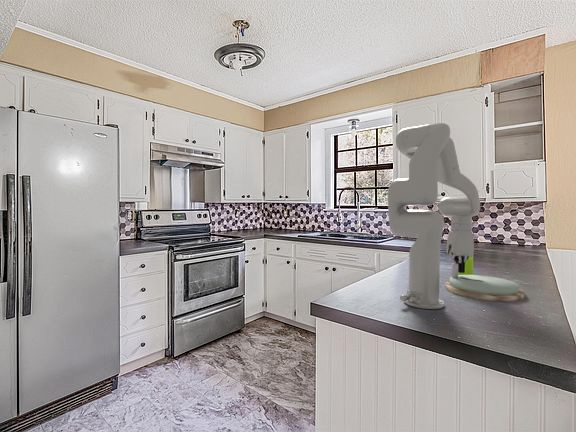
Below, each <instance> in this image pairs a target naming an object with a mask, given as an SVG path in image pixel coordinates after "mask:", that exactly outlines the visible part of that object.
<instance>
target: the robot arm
mask: <svg viewBox="0 0 576 432" xmlns="http://www.w3.org/2000/svg"><path fill="white" fill-rule="evenodd" d="M395 145H396V148H397V149H398V151H399V152H400V153H401V154H402V155H404V156H405V157H407V158H408V159H410V160H409V162H408V163H409V164H408V177H407V178H397V179H394V180H393V181H392V182H391V183H389V186H388V190H387V208H388V211H387V213H388V225H389V229H390V232H391V234H392V235H394V236H395V237H396V236H397V237H401V238H402V237H403V238H414V239H415V242H414V243H413V244H412V245H411V246H410V249H409V252H408V254H409V255H408V259H409V260H408V264H409V265H408V289H407V293H406V294H401V295H400V296H399V300H400V301H401V302H403V303H405V304H406V305H408V306H409V307H414V308H418V309H424V310H425V309H426V310H437V309H443V307H445V301H444V300H443V299H440V275H441V244H442V243H441V242H442V236H443V232H444V227H445V218H444V217H443V216H446V217H450V219H451V220H450V230H449V231H448V235H447V238H446V246H445V249H446V250H445V253H446V254H447V255H448V258H449V259H452V260H453V262H455V263H457V264H458V272H459V273H465V263H466V262H467V260H468V258H471V257H472V254H473V255H474V252H475V239H474V231H473V230H472V229H473V228H474V225H473V217H476V216H477V215H478V214H479V213H480V212H481V211H480V210H481V200H480V195H479V190H478V188H477V187H476V185H475V184H474V183H473V182H472V181H471V180H470V178H469V177H467V176H466V175H464V174H463V173H462V172H461V171H460V166H459V161H458V156H457V153H456V152H457V151H456V147H455V143H454V140H453V138H451V128H450V125H449V124H447V123H444V122H443V123H442V122H437V123H429V124H428V123H427V124H424V125H418V126H411V127H406V128H402V129H401V130H399V131H398V133H397V134H396V136H395ZM438 183H439V184H441V185H445V186H448V187H450V188H453V189H456V190H458V191H460V192H462V193H463V194H464V195H465V196H451V197H449V196H448V197H443V198H442V199H440V200H439V202H438V205H437V208H438V211H436V210H430V209H407V208H406V207H428V206H432V205H434V204H436V203H437V200H438V197H439V192H438V191H439V189H438V187H439V184H438Z"/></svg>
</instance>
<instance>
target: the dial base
mask: <svg viewBox="0 0 576 432" xmlns="http://www.w3.org/2000/svg"><path fill="white" fill-rule="evenodd" d="M444 287H445V290H447V291H448V292H450V293H452V294H454V295H457V296H462V297H464V298H465V297H466V298H470V299H474V300H479V301H480V300H481V301H489V302H500V303H501V302H504V303H505V302H506V303H507V302H518V301H521V300H524V299H525V296H526V295H525V291H524V290H523V289H522V288H520V291H519V293H517V294H513V295H489V294H480V293H474V292H469V291H465V290H461V289H458V288H455V287H453V286H451V285H450V280H448V281H446V282H445V284H444Z"/></svg>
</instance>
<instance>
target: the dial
mask: <svg viewBox="0 0 576 432" xmlns="http://www.w3.org/2000/svg"><path fill="white" fill-rule="evenodd" d="M450 273H451V274H450V275H451V276H449V281H450V285H451V286H453V287H455V288H458V289H461V290H465V291H469V292H474V293H480V294H489V295H513V294H517V293H519V291H520V289H521V288H520V284H519V283H517V282H515V281H512V280H509V279H506V278H501V277H496V276H495V277H494V276H489V275H479V274H478V275H477V274H473V275H458V264H457V263H456V262H455V263H453V262H452V263H451V272H450Z"/></svg>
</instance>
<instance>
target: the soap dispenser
mask: <svg viewBox="0 0 576 432" xmlns="http://www.w3.org/2000/svg"><path fill="white" fill-rule="evenodd" d="M458 275H474V253H473V254H472V257H471V258H468V260H467V262H466V263H465V273H459V272H458Z"/></svg>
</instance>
